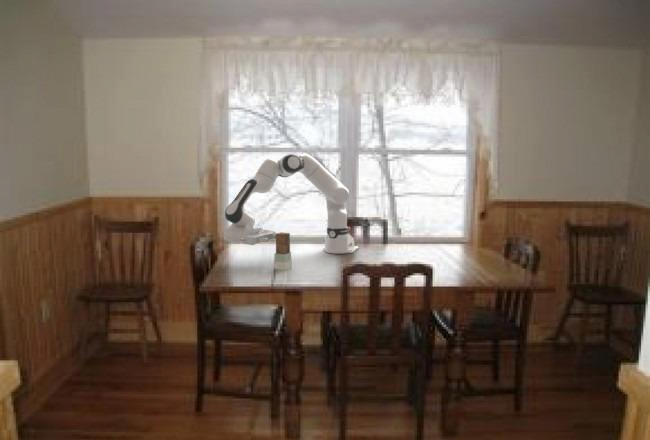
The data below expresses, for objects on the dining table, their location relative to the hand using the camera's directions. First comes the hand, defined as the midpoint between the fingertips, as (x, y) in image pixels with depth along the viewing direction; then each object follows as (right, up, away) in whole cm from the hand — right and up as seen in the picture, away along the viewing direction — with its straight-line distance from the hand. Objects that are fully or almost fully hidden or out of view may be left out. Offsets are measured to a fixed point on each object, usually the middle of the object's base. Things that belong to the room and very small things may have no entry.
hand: (272, 238), depth 277 cm
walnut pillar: (+5, -7, -2) cm, 9 cm away
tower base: (+5, -15, -1) cm, 16 cm away
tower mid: (+5, -11, -1) cm, 12 cm away
